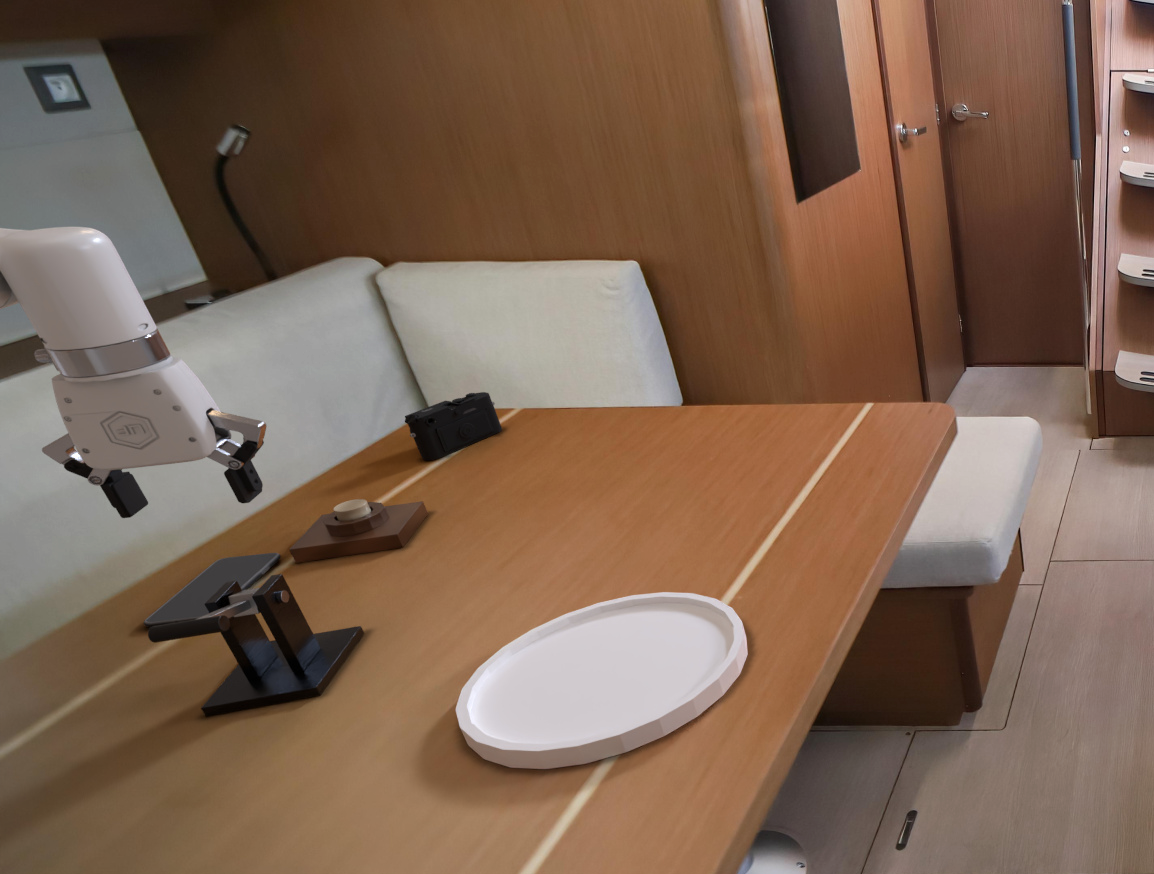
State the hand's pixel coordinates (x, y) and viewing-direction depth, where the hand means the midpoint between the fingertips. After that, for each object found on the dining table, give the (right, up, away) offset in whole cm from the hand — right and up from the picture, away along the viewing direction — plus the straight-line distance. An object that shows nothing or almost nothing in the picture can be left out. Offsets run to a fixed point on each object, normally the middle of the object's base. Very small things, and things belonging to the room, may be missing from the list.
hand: (194, 504), depth 102 cm
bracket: (+2, -20, +8) cm, 22 cm away
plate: (+40, -21, +8) cm, 46 cm away
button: (-14, -4, +33) cm, 35 cm away
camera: (-23, +7, +62) cm, 66 cm away
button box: (-14, -7, +34) cm, 37 cm away
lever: (+4, -13, -1) cm, 13 cm away
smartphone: (-21, -13, +22) cm, 33 cm away
